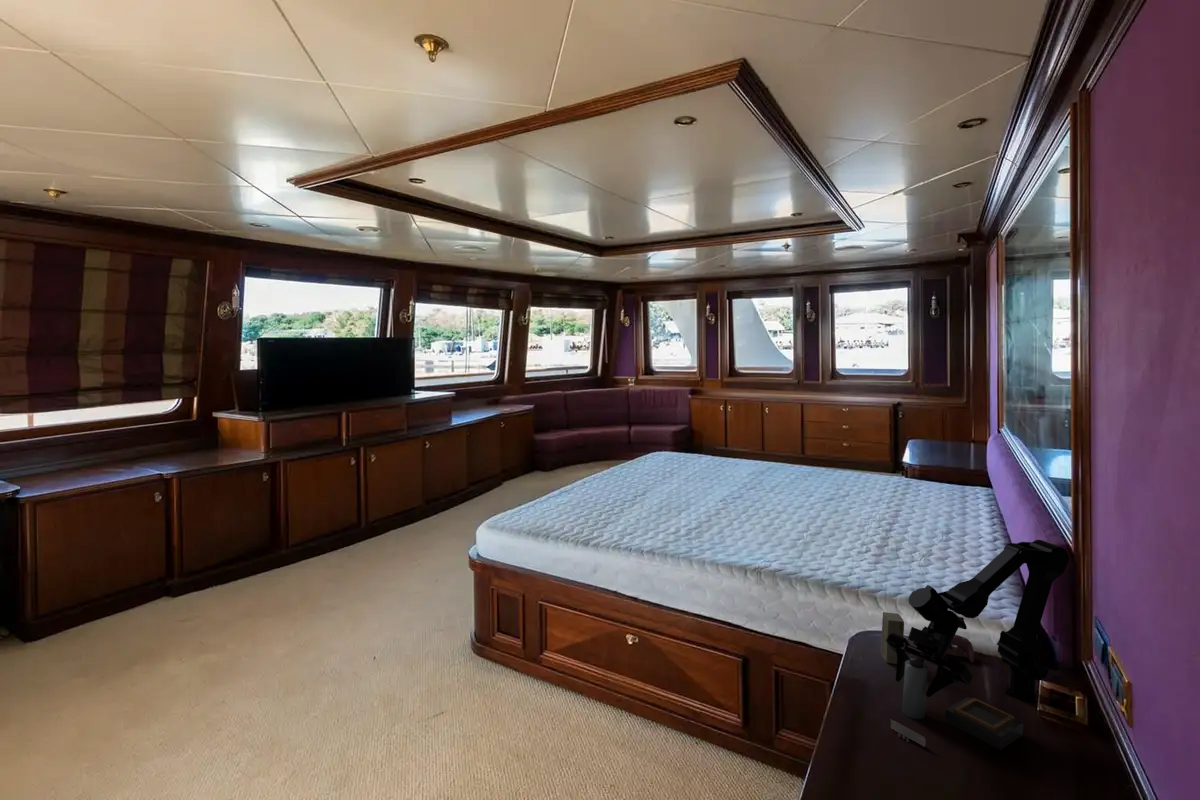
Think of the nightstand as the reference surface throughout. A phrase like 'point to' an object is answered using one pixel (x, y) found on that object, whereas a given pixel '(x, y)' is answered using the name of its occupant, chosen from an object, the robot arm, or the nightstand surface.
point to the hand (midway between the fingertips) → (911, 688)
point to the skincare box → (889, 626)
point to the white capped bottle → (914, 688)
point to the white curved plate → (907, 733)
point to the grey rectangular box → (984, 722)
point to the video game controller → (962, 647)
